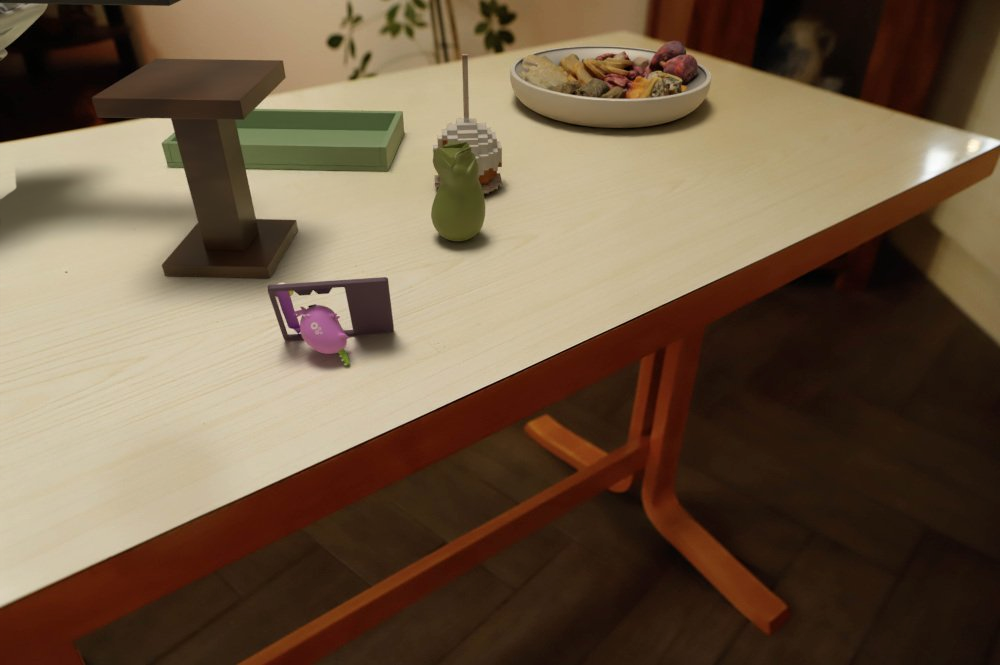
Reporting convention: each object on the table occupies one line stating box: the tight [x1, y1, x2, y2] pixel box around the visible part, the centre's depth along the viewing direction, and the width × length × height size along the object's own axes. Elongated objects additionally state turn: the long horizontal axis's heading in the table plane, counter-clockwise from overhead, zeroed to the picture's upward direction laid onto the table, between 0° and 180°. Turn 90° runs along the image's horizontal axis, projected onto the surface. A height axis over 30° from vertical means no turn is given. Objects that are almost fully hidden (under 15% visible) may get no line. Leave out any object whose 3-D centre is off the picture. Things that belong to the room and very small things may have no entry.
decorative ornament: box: [432, 53, 503, 195], centre depth 81 cm, size 8×8×15 cm
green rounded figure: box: [430, 141, 486, 242], centre depth 72 cm, size 6×5×10 cm
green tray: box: [161, 108, 405, 172], centre depth 94 cm, size 28×14×3 cm, turn 88°
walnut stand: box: [91, 58, 299, 279], centre depth 67 cm, size 12×12×17 cm
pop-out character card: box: [267, 276, 395, 366], centre depth 56 cm, size 7×5×9 cm
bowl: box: [509, 40, 712, 129], centre depth 109 cm, size 30×30×8 cm
